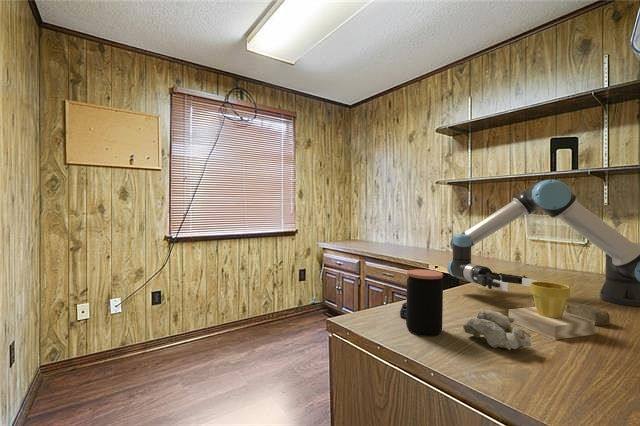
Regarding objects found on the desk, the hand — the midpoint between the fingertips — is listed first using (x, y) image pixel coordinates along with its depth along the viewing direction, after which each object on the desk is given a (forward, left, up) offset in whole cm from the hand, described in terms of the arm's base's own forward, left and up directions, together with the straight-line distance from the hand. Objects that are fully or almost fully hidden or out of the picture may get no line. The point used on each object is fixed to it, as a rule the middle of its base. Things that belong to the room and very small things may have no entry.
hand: (524, 286), depth 112 cm
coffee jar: (+41, +1, -11) cm, 42 cm away
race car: (+36, -15, -12) cm, 41 cm away
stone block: (-19, +7, -11) cm, 24 cm away
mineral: (+27, +15, -11) cm, 33 cm away
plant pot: (0, +9, -7) cm, 12 cm away
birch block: (0, +9, -11) cm, 14 cm away
